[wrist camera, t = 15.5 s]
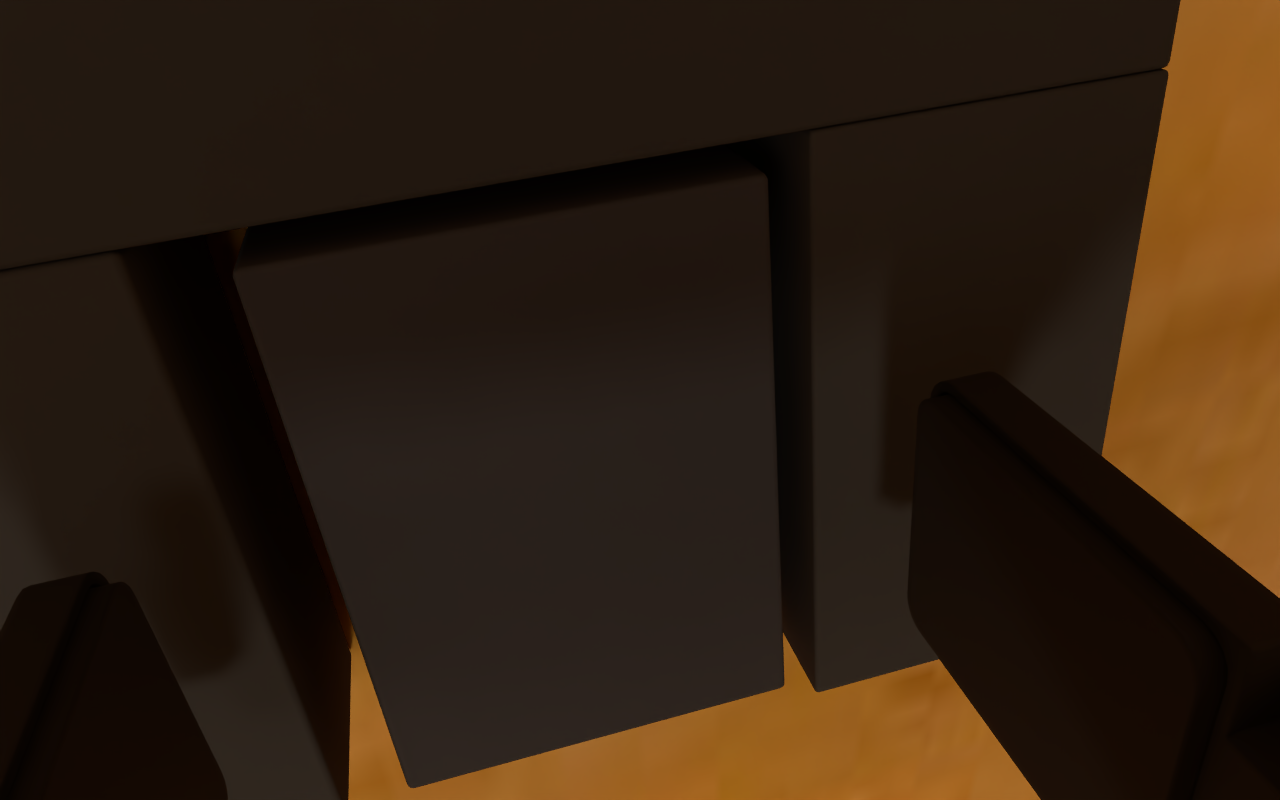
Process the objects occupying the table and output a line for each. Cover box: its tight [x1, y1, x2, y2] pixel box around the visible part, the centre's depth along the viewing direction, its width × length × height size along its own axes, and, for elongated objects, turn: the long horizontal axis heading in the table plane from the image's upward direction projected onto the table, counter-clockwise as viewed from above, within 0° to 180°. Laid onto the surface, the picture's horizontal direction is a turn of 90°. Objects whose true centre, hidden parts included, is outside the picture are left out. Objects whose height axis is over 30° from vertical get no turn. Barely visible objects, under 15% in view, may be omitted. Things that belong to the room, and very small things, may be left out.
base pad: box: [0, 0, 1180, 800], centre depth 11 cm, size 14×12×3 cm
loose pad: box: [233, 144, 784, 788], centre depth 12 cm, size 5×7×3 cm
